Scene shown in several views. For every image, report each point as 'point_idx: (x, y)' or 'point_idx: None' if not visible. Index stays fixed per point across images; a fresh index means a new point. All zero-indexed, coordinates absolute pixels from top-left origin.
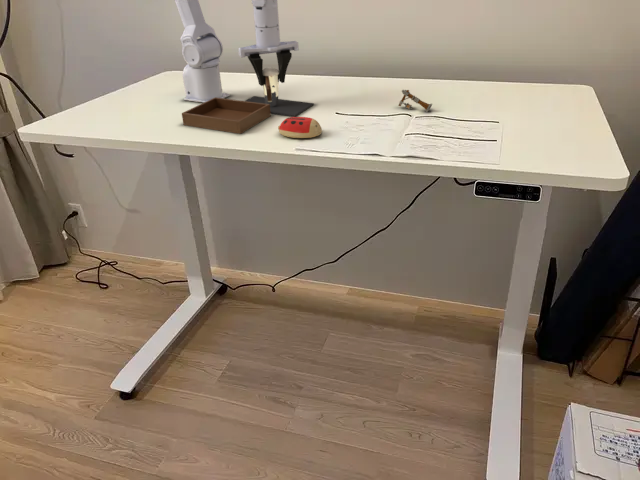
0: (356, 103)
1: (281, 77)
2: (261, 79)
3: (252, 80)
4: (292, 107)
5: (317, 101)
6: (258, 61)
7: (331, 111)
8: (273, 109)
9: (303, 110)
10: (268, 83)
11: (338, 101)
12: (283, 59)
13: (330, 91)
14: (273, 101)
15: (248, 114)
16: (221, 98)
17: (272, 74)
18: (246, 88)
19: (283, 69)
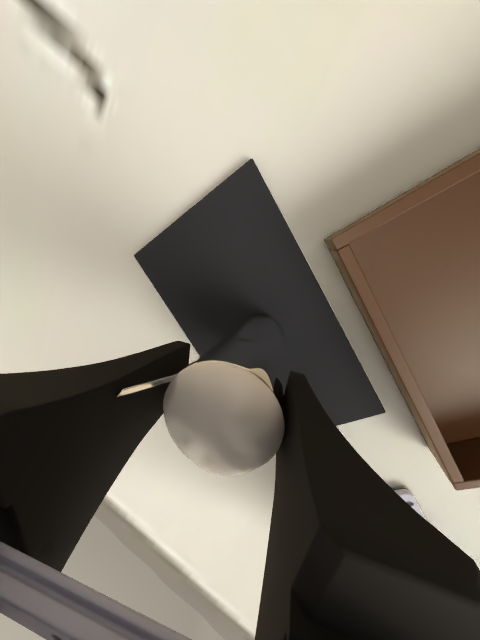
0: (18, 175)
1: (175, 360)
2: (308, 389)
3: (195, 535)
4: (213, 263)
5: (116, 281)
6: (390, 533)
7: (110, 139)
8: (281, 289)
9: (193, 207)
10: (267, 359)
11: (62, 235)
12: (51, 398)
13: (59, 336)
14: (261, 320)
15: (400, 299)
16: (447, 461)
17: (230, 369)
18: (236, 509)
19: (133, 366)
